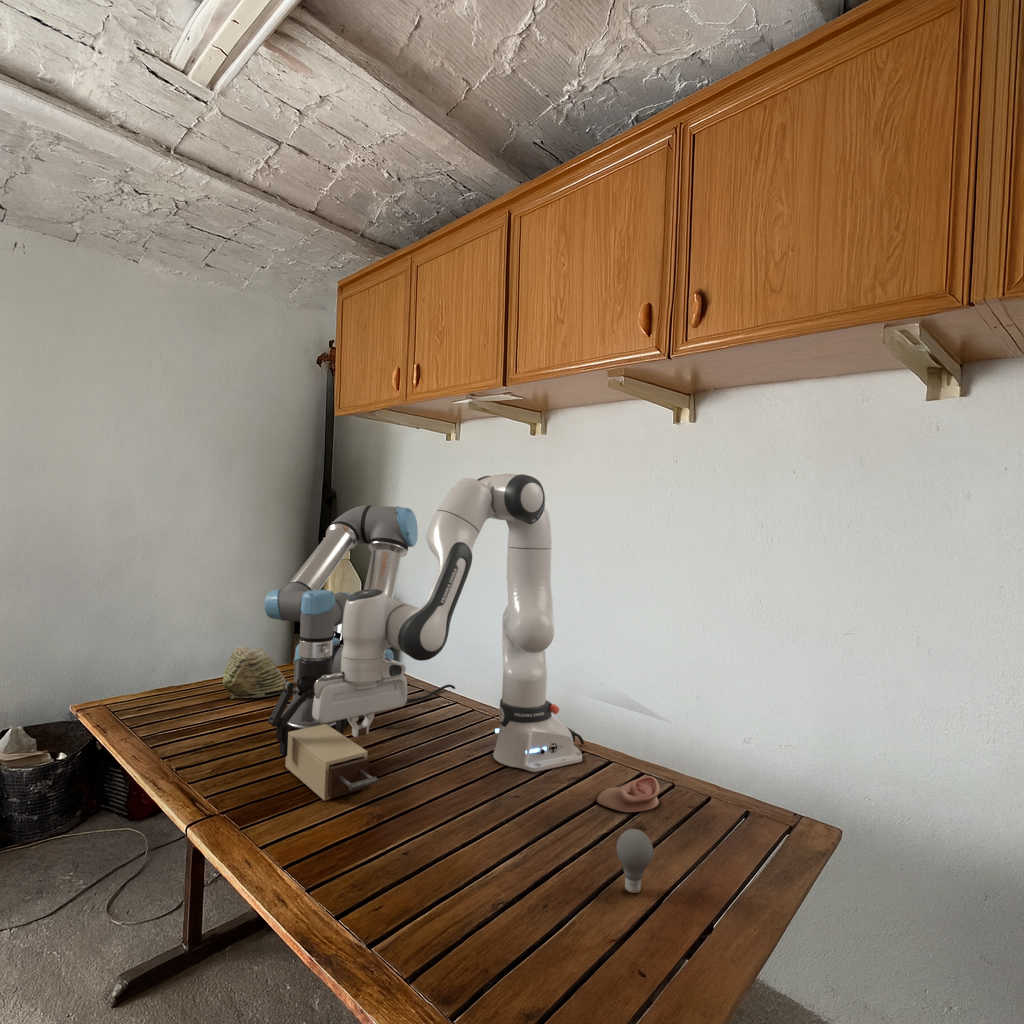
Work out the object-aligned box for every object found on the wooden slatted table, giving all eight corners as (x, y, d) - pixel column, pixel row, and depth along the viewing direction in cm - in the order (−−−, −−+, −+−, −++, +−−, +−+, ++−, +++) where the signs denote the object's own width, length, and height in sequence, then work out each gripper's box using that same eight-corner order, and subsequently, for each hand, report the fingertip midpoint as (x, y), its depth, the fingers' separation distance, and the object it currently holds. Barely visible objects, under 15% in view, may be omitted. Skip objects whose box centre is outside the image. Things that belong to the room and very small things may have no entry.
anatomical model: (596, 789, 133) (599, 767, 145) (595, 808, 134) (599, 785, 145) (660, 798, 131) (659, 775, 142) (659, 817, 131) (658, 792, 142)
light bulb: (610, 879, 108) (613, 822, 108) (644, 879, 109) (647, 822, 109) (619, 902, 102) (622, 840, 102) (655, 901, 103) (658, 840, 103)
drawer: (382, 798, 132) (383, 768, 132) (344, 810, 127) (345, 779, 126) (328, 757, 151) (329, 731, 151) (293, 766, 146) (294, 739, 145)
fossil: (218, 695, 195) (220, 647, 195) (278, 685, 208) (279, 640, 207) (228, 703, 189) (230, 653, 188) (289, 692, 201) (290, 645, 201)
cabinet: (366, 788, 139) (367, 751, 138) (324, 800, 132) (325, 762, 132) (324, 756, 154) (326, 723, 154) (285, 766, 147) (286, 732, 147)
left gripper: (268, 668, 137) (264, 766, 137) (371, 654, 153) (367, 741, 153) (255, 660, 142) (251, 754, 142) (356, 647, 159) (353, 732, 159)
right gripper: (321, 680, 122) (319, 751, 122) (412, 665, 135) (409, 729, 136) (308, 672, 126) (305, 741, 127) (396, 658, 140) (394, 720, 140)
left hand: (312, 747), depth 148 cm, fingers open, 13 cm apart
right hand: (360, 735), depth 131 cm, fingers closed
